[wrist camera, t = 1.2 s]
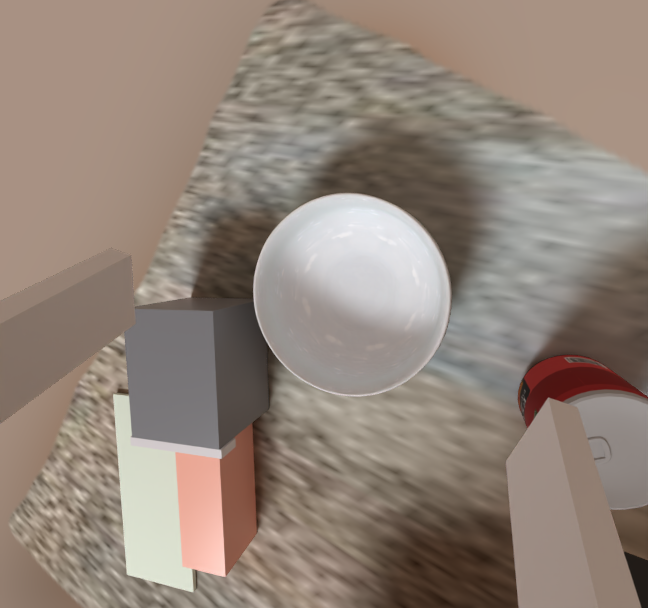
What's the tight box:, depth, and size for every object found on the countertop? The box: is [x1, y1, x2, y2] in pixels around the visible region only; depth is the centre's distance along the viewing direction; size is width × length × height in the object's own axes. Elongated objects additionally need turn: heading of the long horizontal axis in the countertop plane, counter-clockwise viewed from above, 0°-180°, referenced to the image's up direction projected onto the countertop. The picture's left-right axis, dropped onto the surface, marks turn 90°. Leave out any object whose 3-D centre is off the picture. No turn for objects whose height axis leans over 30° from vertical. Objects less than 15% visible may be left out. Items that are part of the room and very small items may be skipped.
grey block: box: [124, 298, 269, 459], centre depth 41 cm, size 13×10×10 cm
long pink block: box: [175, 423, 257, 577], centre depth 44 cm, size 20×5×7 cm, turn 1°
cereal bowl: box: [253, 193, 452, 396], centre depth 37 cm, size 17×17×7 cm
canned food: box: [518, 355, 648, 510], centre depth 31 cm, size 8×8×11 cm
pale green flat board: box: [113, 393, 196, 592], centre depth 51 cm, size 24×10×1 cm, turn 1°
